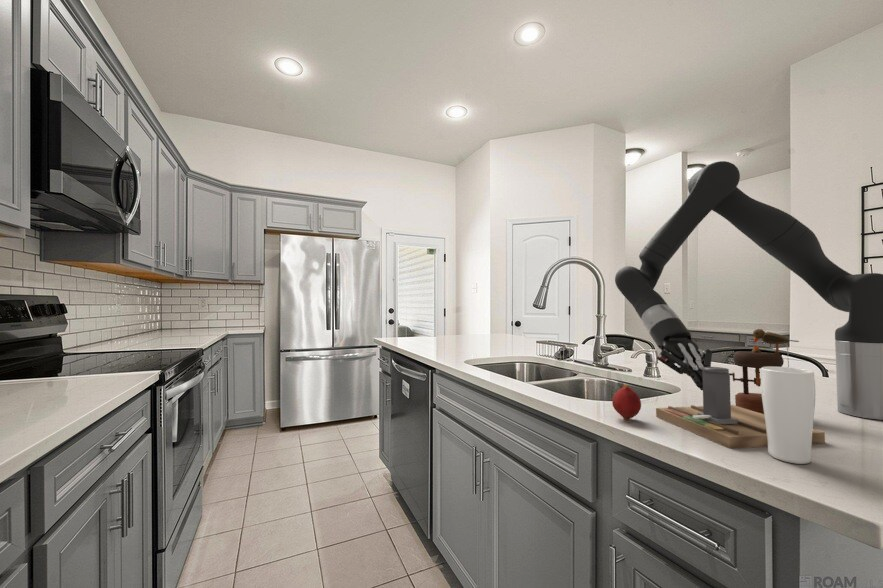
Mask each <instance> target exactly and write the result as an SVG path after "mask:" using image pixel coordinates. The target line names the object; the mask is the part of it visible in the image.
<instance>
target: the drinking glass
mask: <svg viewBox="0 0 883 588" xmlns="http://www.w3.org/2000/svg"><path fill="white" fill-rule="evenodd" d="M760 378H761V385H760V391H761V392H760V394H761V395H762V402H763V410H764V417H765V424H766V432H767V440H768V446H767V453H768V455H770V456H771V457H773V458H775V459H777V460H779V461H782V462H786V463H790V464H797V465H806V464H809V463H811V462H812V445H813V444H812V432H813V429H814V420H815V419H814V417H815V407H816V395H817V394H816V380H815V379H816V378H815V372H814V371H812V370H810V369H803V368H796V367H790V366H789V367H788V366H787V367H786V366H782V367H772V366H769V367H762V368H760Z"/></svg>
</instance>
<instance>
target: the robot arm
mask: <svg viewBox="0 0 883 588" xmlns="http://www.w3.org/2000/svg"><path fill="white" fill-rule="evenodd" d="M740 179H741V173H740V170H739V169H738V167H737V166H736V165H735V164H734V163H733V162H729V161H726V160H724V161H723V160H720V161H714V162H712V163H709V164H707V165H705V166H704V167H702V168H701V169H699V170H698V171H696V172H695V173H694V174H693V175H692V176H691V177H690V178H689V180H688V182H687V183H688V184H687V190H688V192H689V194H688V196H687V197H686V198H685V200H684V201H683V203H682V204H681V205H680V206H679V208H677V210H676V212H674V213H673V214H672V216H670V218H668V219H667V221H666V222H665V223H663V225H662V226H661V227H660V228H659V229H658V230H657V231H656V232H655V233H654V235H652V236H651V239H650V240H649V241H648V242H647V243H646V244H645V246H644V247H643V248H642V249H641V251H640V253H639V255H638V258H639V260H640V262H641V265H640V268H639V269H638V268H637V267H634V266H631V265H630V266H629V265H627V266H624V267H622V268H620V269H618V270H617V272H616V274H615V276H614V277H615V278H614V283H615V285H616V288H617V289H618V291H619V292H620V293H621V294H622V295H623V296H624V298H625V299H626V301H628V302H629V304H630V305H631V306H632V307H633V308H634V309H635V312H636V314H637V315H638V316H639V318H640V320H641V321H642V323H643V325H644V327H645V329H646V331H647V332H648V333H649V336H650V337H651V338H652V340H653V342H654V343H655V345H656V346H657V347H658V349H659V350H660V351H661V352H659V354H658V355H657V356H656V359H657V360H658V361H659V362H661V363H662V364H664V365H665V366H667V367H669V368H670V369H671V370H674V371H675V372H676V373H677V374H679V375H683V374H686V375H687V376H688V377H690V378H691V380H692V381H693V383H694V384H695V385H696V386H697V388H698V389H699V390H700V391H703V373H702V371H703V367H712V356H713V351H712V349H711V350H710V349H706V350H705V349H704V350H703V349H702V348H699V345H698V344H697V343H696V342H694V341H693V339H692V335H691V332H690V330H689V329H688V327H686V325H685V324H684V323H683V321H682V320H681V318H680V317H679V316H678V315H677V314H676V312H675V311H674V310H673V309H672V308H671V306H669V305H668V303H667V302H666V300H665V299H664V298H663V297H662V295H661V294H660V293H658V292H657V291H656V290H655V287H656V286H657V283H658V281H659V279H660V277H661V276H662V274H663V272H664V271H663V270H664V267H665V266H666V265H667V263H668V262H669V261H670V260H671V259H672V258H673V257H674V255H675V254H676V253H677V252H678V250H680V248H681V246H683V244H684V243H685V241H686V240H687V239H688V237H689V236H690V235H691V234H692V233H693V231H694V230H695V229H696V228H697V227H698V225H699V224H700V223H701V222H702V221H703V220H704V219H705V218H706V217H707V216H708V214H709V213H710V212H712V211H713V212H714V213H716V214H718V215H720V217H722V218H723V219H726V221H728V222H729V223H730V224H731V225H733V227H735V228H736V229H737V230H738V231H739V232H741V233H742V234H744V235H745V237H747V238H749V240H751V241H752V242H753V243H754V244H755V245H757V246H758V247H760V248H761V249H762V250H763V251H765V252H766V253H767V254H769V255H770V256H771V257H772V258H774V259H775V260H777V261H778V262H780V263H781V264H782V265H783V266H785V267H786V268H787V269H789V270H790V271H791V272H792V273H794V274H795V275H796V276H798V277H799V278H801V279H802V280H803V281H804V282H806V284H807V285H808V286H809V287H810V288H811V289H812V290H814V291H815V292H816V293H817V294H818V295H819V297H821V298H822V299H823V300H824V301H825V302H826V303H827V304H828V305H830V306H831V308H832V307H833V308H834V309H836V310H838V311H841V312H845V313H848V314H849V315H848V320H847V322H846V323H845V324H844V325H842V326H840V327H838V328H836V329H835V330H834V341H835V342H834V347H835V371H836V372H835V375H836V400H837V401H836V402H837V411H838V412H840V413H843V414H846V415H849V416H854V417H858V418H863V419H864V418H865V419H870V420H871V419H873V420H880V421H883V273H877V272H876V273H875V272H872V273H871V272H870V273H867V272H866V273H859V274H852V273H850V272H848V271H846V270H844V269H843V268H841V267H840V266H839V265H837V264H836V263H834V262H833V260H830V259H829V258H828V256H827V255H826V254H825V253H824V250H823V248H822V246H821V243H820V241H819V239H818V237H817V236H816V234H815V233H814V231H812V230H811V229H810V228H809V227H808V226H806V225H805V224H804V223H803V222H801V221H800V220H798V219H797V218H796V217H795V216H794V215H791V214H790V213H788V212H786V211H783V210H781V209H779V208H777V207H775V206H771V205H769V204H766V203H764V202H761V201H759V200H757V199H754V198H752V197H750V196H749V195H747V194H746V193H745V192H744V191H742V190H741V189H740V188H739V187H738V185H739V183H740Z"/></svg>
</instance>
